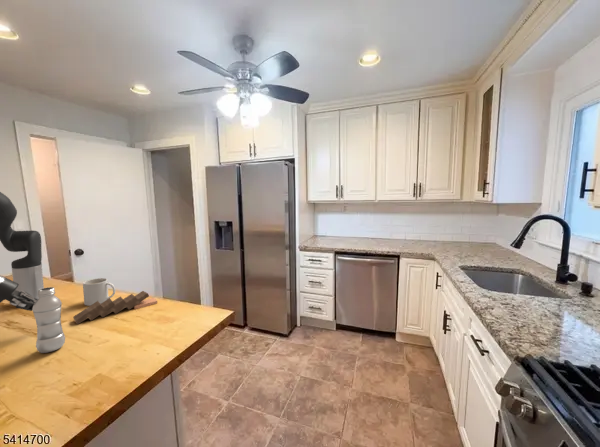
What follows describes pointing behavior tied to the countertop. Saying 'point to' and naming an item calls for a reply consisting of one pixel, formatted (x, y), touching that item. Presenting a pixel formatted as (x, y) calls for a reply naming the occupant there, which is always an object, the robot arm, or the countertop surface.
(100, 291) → the mug
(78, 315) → the domino
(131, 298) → the domino
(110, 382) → the countertop surface
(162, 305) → the countertop surface
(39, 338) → the plastic bottle
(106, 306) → the domino
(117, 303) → the domino
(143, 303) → the domino
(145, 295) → the domino
